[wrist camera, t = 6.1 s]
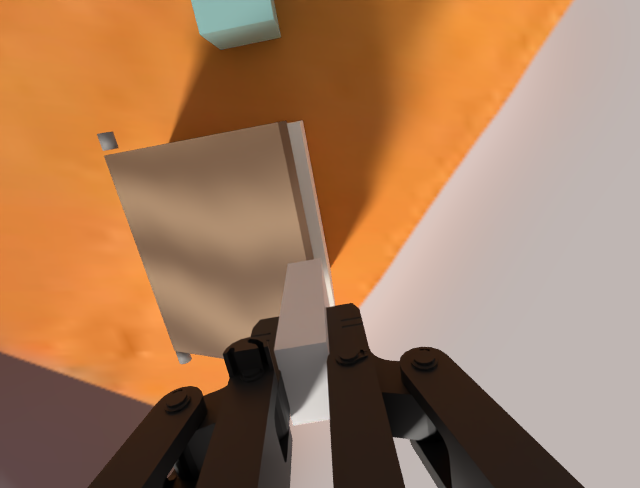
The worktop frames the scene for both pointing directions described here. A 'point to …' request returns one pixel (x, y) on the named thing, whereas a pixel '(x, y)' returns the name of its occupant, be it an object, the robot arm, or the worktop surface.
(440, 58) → the worktop surface
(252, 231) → the lid
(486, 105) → the worktop surface
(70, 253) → the worktop surface
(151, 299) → the worktop surface
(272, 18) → the block
